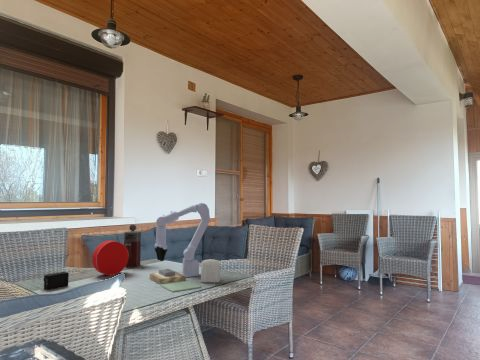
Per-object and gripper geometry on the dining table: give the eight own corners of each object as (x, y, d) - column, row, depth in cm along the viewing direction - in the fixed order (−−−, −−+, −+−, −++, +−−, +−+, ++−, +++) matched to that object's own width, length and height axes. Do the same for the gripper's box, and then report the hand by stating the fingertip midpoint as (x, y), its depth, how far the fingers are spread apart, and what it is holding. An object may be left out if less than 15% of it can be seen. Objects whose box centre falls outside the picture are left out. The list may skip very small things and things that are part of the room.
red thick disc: (123, 271, 215) (124, 239, 217) (128, 272, 211) (129, 240, 212) (91, 276, 201) (92, 241, 202) (95, 277, 197) (96, 242, 198)
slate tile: (168, 272, 199) (168, 268, 199) (175, 275, 192) (175, 271, 192) (158, 273, 196) (158, 270, 196) (164, 276, 189) (164, 272, 189)
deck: (174, 275, 204) (174, 270, 204) (185, 281, 191) (185, 275, 191) (149, 279, 195) (149, 273, 195) (160, 284, 182) (160, 279, 182)
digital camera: (62, 284, 182) (63, 271, 183) (68, 285, 179) (68, 272, 180) (42, 288, 174) (43, 274, 174) (48, 290, 171) (48, 275, 171)
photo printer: (219, 281, 192) (219, 258, 192) (219, 282, 187) (219, 260, 188) (201, 281, 191) (201, 258, 192) (200, 283, 187) (201, 260, 187)
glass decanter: (122, 267, 226) (123, 225, 228) (127, 264, 237) (128, 224, 239) (135, 267, 226) (136, 225, 228) (140, 264, 238) (141, 224, 239)
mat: (187, 281, 190) (187, 280, 190) (201, 287, 177) (201, 286, 177) (159, 285, 181) (159, 284, 181) (172, 292, 168) (172, 291, 168)
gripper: (150, 236, 207) (149, 259, 206) (159, 238, 195) (158, 262, 194) (161, 235, 211) (160, 258, 210) (170, 238, 199) (170, 261, 198)
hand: (160, 260), depth 202 cm, fingers open, 3 cm apart
